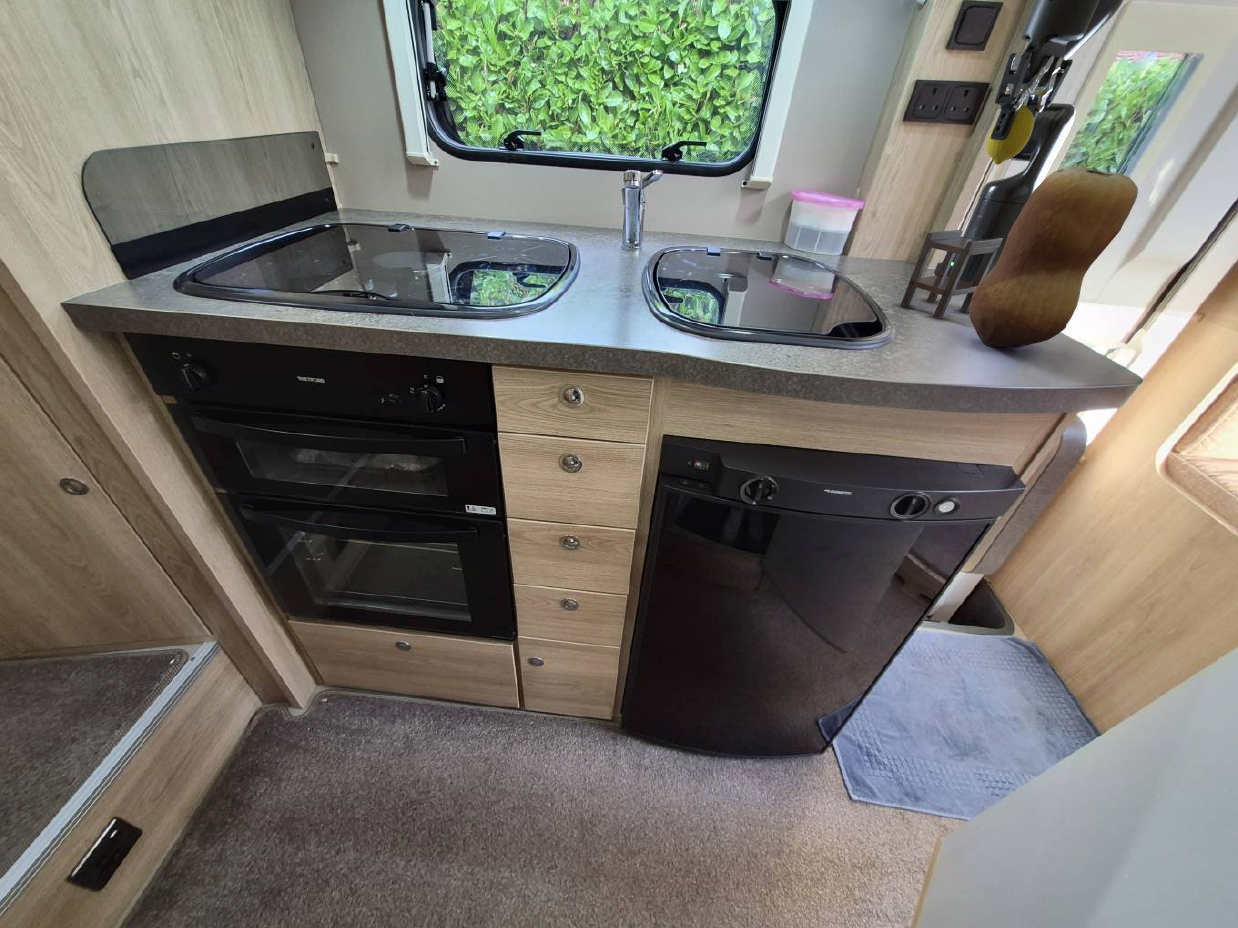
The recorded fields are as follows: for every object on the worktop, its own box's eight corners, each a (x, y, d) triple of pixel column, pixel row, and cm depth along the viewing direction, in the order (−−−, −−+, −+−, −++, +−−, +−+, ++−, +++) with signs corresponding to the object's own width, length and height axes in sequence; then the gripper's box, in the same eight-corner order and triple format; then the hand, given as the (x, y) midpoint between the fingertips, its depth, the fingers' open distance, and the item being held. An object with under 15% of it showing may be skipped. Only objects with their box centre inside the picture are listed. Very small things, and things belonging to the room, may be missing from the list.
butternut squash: (1050, 369, 73) (1167, 176, 58) (950, 346, 79) (1033, 165, 64) (1045, 342, 83) (1145, 170, 68) (956, 323, 88) (1030, 161, 74)
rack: (899, 306, 96) (927, 232, 88) (929, 300, 100) (959, 229, 92) (938, 319, 90) (972, 242, 82) (968, 312, 94) (1003, 238, 87)
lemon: (973, 163, 80) (997, 103, 75) (982, 162, 83) (1006, 104, 79) (1012, 167, 77) (1040, 104, 72) (1020, 166, 80) (1047, 105, 76)
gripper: (1063, 5, 74) (1006, 139, 84) (1014, -9, 68) (959, 137, 78) (1123, -1, 69) (1055, 142, 79) (1076, -17, 63) (1008, 141, 73)
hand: (1007, 139), depth 78 cm, fingers closed on lemon, 5 cm apart
